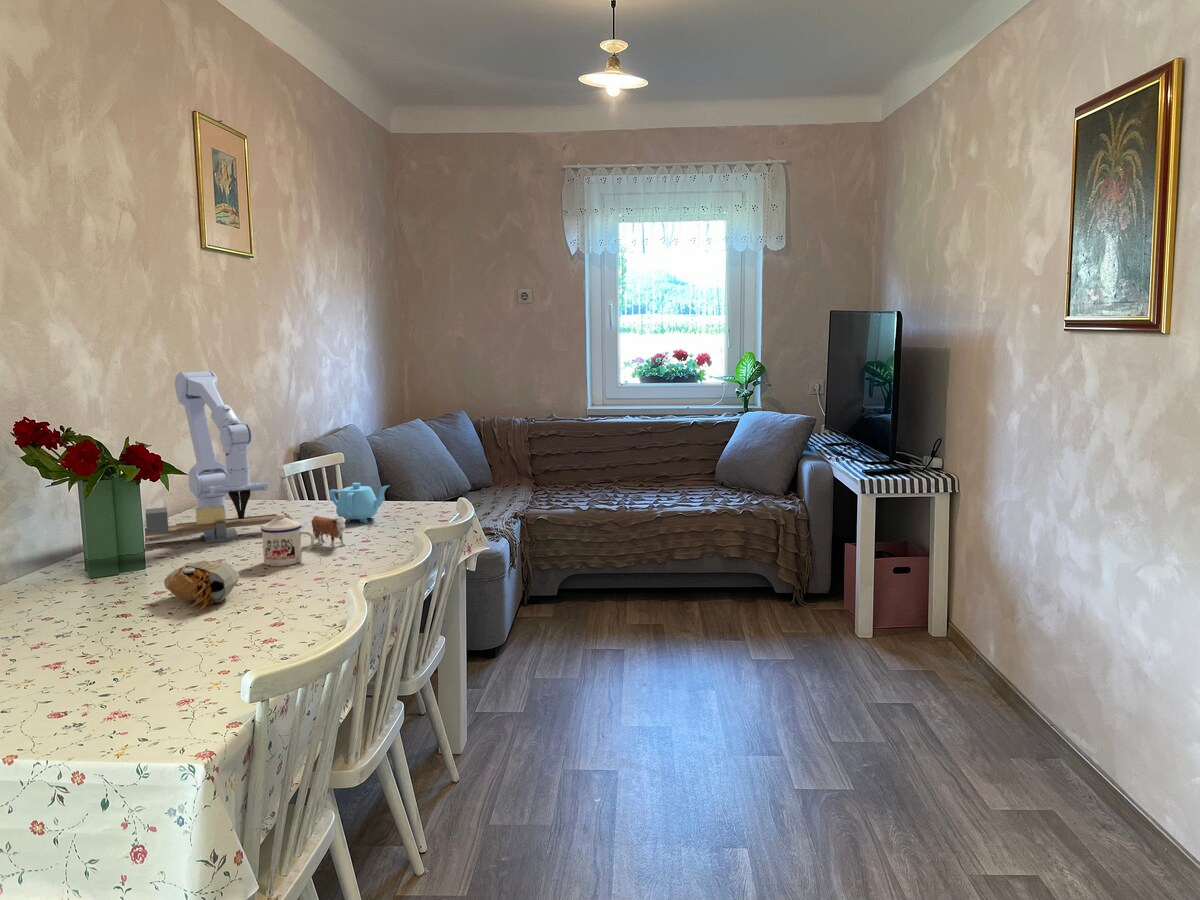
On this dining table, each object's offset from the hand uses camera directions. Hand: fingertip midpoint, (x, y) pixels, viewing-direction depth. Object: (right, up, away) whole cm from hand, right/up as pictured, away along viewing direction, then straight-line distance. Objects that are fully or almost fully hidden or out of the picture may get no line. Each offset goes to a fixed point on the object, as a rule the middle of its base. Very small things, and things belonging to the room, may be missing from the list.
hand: (241, 518), depth 244 cm
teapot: (+27, -2, +18) cm, 33 cm away
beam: (-5, -2, -2) cm, 6 cm away
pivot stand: (-5, -5, -2) cm, 7 cm away
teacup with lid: (+23, -8, -28) cm, 37 cm away
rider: (-7, -1, -3) cm, 8 cm away
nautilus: (+15, -13, -60) cm, 64 cm away
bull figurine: (+28, -6, -12) cm, 31 cm away
